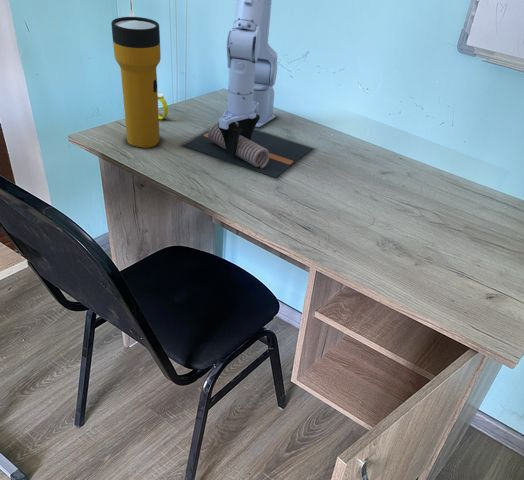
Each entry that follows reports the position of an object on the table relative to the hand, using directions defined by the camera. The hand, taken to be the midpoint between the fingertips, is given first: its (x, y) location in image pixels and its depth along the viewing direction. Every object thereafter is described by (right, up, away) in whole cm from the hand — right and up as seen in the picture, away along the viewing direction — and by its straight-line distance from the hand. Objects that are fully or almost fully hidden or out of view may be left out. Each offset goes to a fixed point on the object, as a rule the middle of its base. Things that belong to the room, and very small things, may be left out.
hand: (237, 149), depth 129 cm
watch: (-22, +13, +13) cm, 29 cm away
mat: (+3, +2, +5) cm, 6 cm away
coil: (0, -1, +1) cm, 2 cm away
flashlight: (-23, +3, +2) cm, 24 cm away
